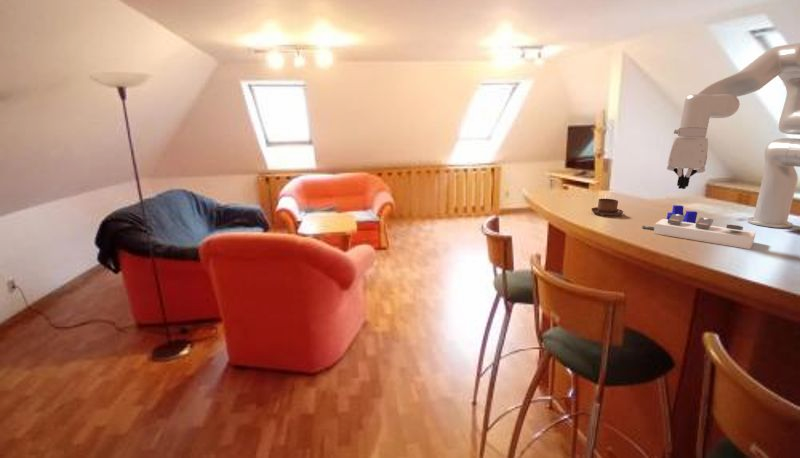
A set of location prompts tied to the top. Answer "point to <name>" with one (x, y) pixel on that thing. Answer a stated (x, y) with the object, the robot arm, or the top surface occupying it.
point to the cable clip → (689, 215)
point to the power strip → (705, 233)
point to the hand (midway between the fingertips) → (682, 188)
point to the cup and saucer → (607, 207)
